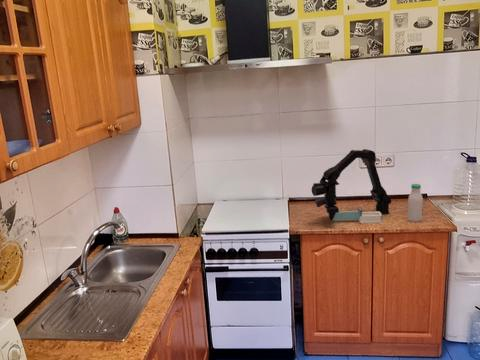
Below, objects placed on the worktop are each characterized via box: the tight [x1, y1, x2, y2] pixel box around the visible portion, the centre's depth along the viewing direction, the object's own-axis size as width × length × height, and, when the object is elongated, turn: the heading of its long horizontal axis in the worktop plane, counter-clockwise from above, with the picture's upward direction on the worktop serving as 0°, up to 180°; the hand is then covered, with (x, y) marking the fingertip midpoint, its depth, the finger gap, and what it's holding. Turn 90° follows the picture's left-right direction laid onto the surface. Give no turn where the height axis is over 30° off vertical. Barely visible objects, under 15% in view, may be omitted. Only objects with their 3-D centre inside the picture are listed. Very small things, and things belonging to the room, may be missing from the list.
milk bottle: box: [407, 183, 424, 223], centre depth 230 cm, size 8×8×20 cm
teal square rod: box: [332, 210, 360, 221], centre depth 236 cm, size 16×2×4 cm, turn 85°
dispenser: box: [357, 206, 384, 224], centre depth 235 cm, size 12×8×7 cm
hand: (331, 219), depth 237 cm, fingers closed on teal square rod, 2 cm apart
